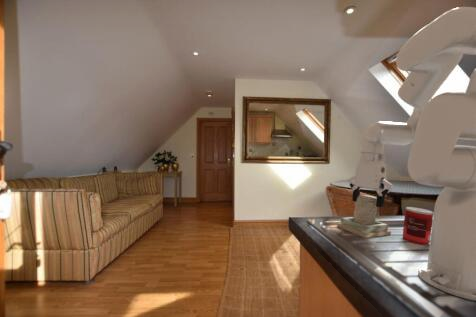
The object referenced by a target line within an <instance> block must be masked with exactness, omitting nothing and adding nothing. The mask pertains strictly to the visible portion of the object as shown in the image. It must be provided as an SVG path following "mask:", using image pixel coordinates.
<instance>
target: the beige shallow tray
mask: <svg viewBox="0 0 476 317" xmlns="http://www.w3.org/2000/svg"><path fill="white" fill-rule="evenodd" d="M336 226H337V227H338V228H340V229H343V230H345V231H347V232H350V233H352V234H355V235H357V236H360V237H362V238H365V239H366V238H374V237H375V238H376V237H382V236H390V235H391V234H392V231H391V230H389V224H387V223H384V222H381V221H378V220H375V223H374V225H362V224H359V223H357V222H354V216H349V217H348V216H347V217H341V218H340V222H338V223H337V225H336Z"/></svg>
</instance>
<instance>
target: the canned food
mask: <svg viewBox="0 0 476 317" xmlns="http://www.w3.org/2000/svg"><path fill="white" fill-rule="evenodd" d="M433 215H434V211H432V210H429V209H425V208H420V207H416V206H415V207H413V206H406V207H405V211H404V219H403V220H404V221H403V230H402V238H403V239H404V240H405V241H407V242H409V243H413V244H415V245H422V246H428V245H430V239H431V231H432V223H433Z"/></svg>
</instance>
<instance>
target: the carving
mask: <svg viewBox="0 0 476 317" xmlns="http://www.w3.org/2000/svg"><path fill="white" fill-rule="evenodd" d="M376 200H377V196H373V195H367V194H360V195H359V196H358V198H357V201H355V207H354V211H353V217H354V222H357V223H359V224H362V225H374V223H375V221H377V214H378V211H377V210H378V207H376Z"/></svg>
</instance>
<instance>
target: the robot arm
mask: <svg viewBox="0 0 476 317" xmlns="http://www.w3.org/2000/svg"><path fill="white" fill-rule="evenodd" d="M464 55H473V56H474V55H475V56H476V7H472V6H460V7H456V8H451V9H450V10H447V11H446V12H444V13H442V14H441V15H440V16H438V17H437V18H435V19H434V20H433V21H431V22H430V23H429V24H427V25H425V26H424V27H422V28H421V29H420V30H418V31H417V32H416V33H414V34H413V35H412V36H411V37H410V38H408V40H407V41H405V43H404V44H403V45H402V46H401V48H400V49H399V51H398V52H397V55H396V59H395V65H396V67H397V68H398V69H399V70H400V71H402V72H403V71H404V72H409V74H408V75H407V76H406V78H405V79H404V81H403V83H402V84H401V86H400V87H399V88H398V90H397V95H398V97H399V98H400V100H401V101H403V103H406V104H407V105H408V106H411V107H413V109H412V110H413V111H412V113H411V115H410V116H409V118H408V119H407V120H406V121H405V122H395V121H394V122H393V121H382V120H380V121H375V122H373V123H372V124H368V125H364V126H363V127H362V131H361V133H362V134H361V142H360V153H359V155H360V156H359V161H358V162H357V163H356V164H357V165H356V168H355V174H354V176H352V177H349V178H348V182H349V187H350V188H351V191H352V196H351V197H352V202H356V201H357V198H358V196H359V195H361V192H360V190H361V189H362V188H363V189H368V190H369V189H370V190H375V191H376V193H377V195H376V198H377V200H376V207H377V208H383V207H384V206H385V200H386V197H387V196H388V195H389V194H390V193H391V191H392V190H393V189H394V187H395V185H394V184H392V183H391V182H389V180H387V168H386V167H387V166H386V163H385V162H384V161H385V160H387V156H386V155H384V154H385V153H384V152H385V150H384V149H385V145H392V146H393V145H395V146H407V145H410V144H411V146H410V149H409V154H408V158H407V173H408V176H409V177H410V178H411V179H412V180H413V181H414V182H415V183H417V184H420V185H423V186H428V187H429V186H430V187H439V188H440V187H442V188H443V189H442V190H441V192H440V193H439V194H438V196H437V199H436V201H435V203H434V210H433V220H432V227H431V235H430V242H429V250H428V255H427V256H428V258H427V265H424V266H423V265H422V266H420V267H419V268H418V271H417V273H418V276H419V277H420V278H421V279H422V280H423V282H425V283H427V284H428V285H430V286H432V287H434V288H436V289H437V290H438V289H439V290H440V291H443V292H445V293H447V294H450V295H451V296H452V295H453V296H455V297H458V298H463V299H465V300H470V301H475V302H476V146H473V145H461V144H457V142H458V140H465V141H476V68H475V69H474V70H473V72H472V73H471V74H470V78H469V80H468V81H469V82H468V84H467V87H466V90H465V92H463V91H462V92H461V91H447V92H442V93H439V94H437V95H436V96H434V95H435V94H436V93H437V91H438V90H439V89H440V88H441V86H442V85H443V84H444V82H445V81H446V80H447V79H448V77H449V76H450V75H451V73H453V71H454V70H455V68H456V67H457V65H458V64H459V63H460V61H461V60H462V59H463V56H464ZM432 97H433V98H432Z"/></svg>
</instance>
